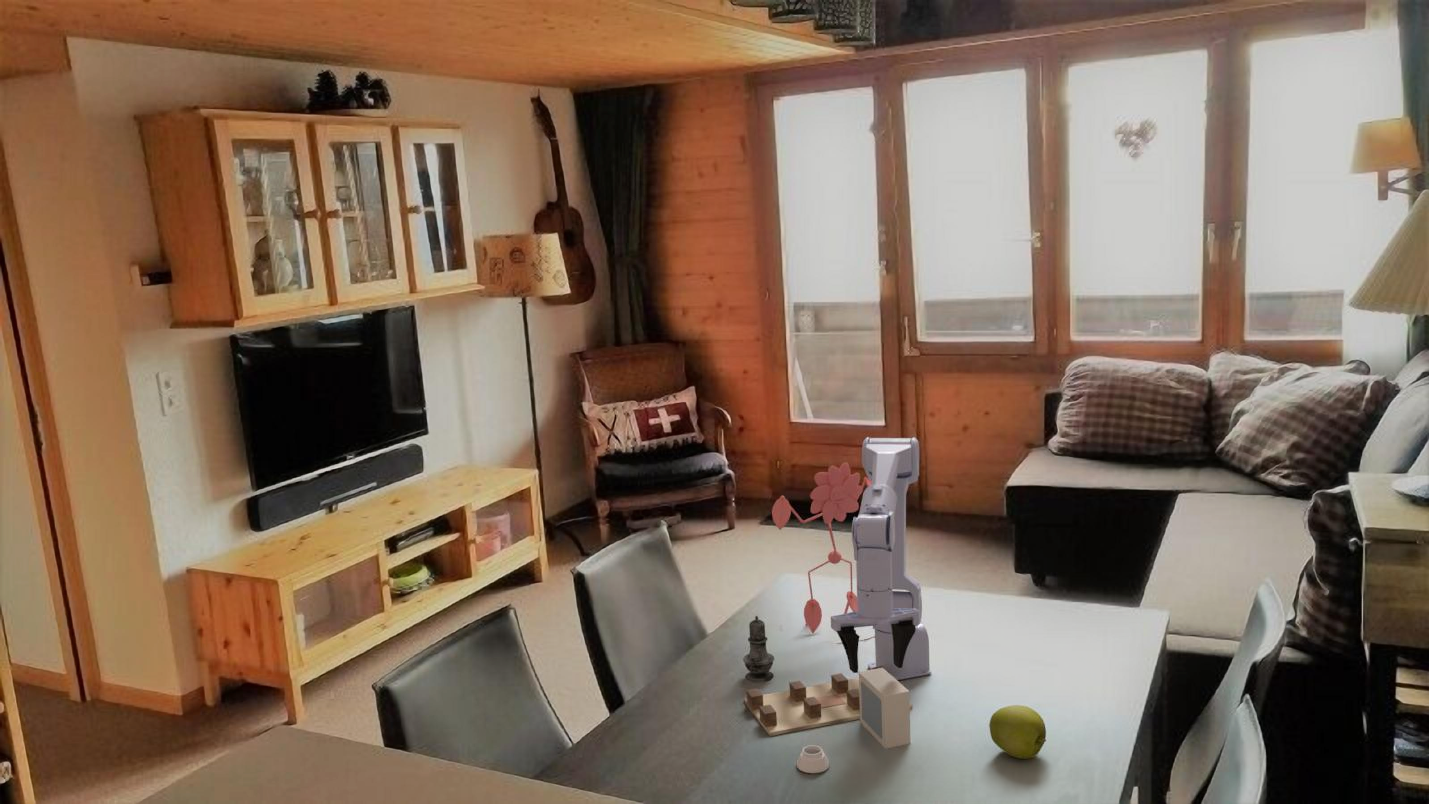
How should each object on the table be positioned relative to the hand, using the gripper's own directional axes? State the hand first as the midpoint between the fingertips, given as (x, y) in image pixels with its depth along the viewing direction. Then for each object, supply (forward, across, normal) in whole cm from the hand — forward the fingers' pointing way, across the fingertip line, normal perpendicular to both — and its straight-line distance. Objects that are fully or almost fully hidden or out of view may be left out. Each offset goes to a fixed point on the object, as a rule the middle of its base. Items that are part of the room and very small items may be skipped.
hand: (876, 668), depth 180 cm
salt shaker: (+10, -13, +28) cm, 32 cm away
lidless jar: (+12, -13, -7) cm, 19 cm away
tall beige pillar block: (+11, +1, 0) cm, 11 cm away
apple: (+12, +18, -14) cm, 26 cm away
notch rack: (+10, -4, +13) cm, 17 cm away
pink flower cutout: (+8, +9, +45) cm, 46 cm away
